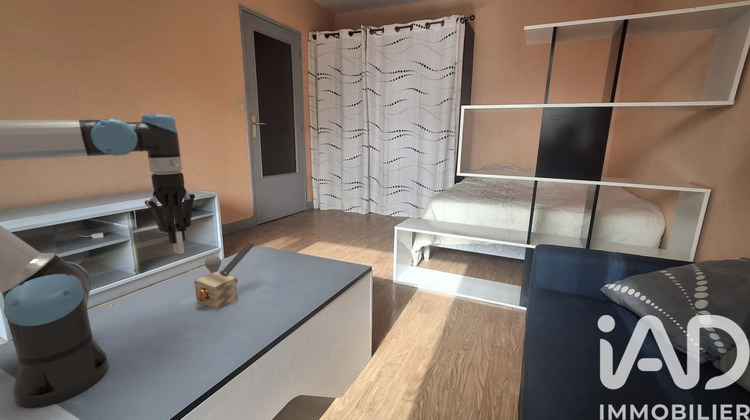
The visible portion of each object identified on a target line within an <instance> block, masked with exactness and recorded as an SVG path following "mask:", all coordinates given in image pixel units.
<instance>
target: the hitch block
mask: <svg viewBox="0 0 750 420" xmlns="http://www.w3.org/2000/svg"><path fill="white" fill-rule="evenodd" d="M235 277H236V276H232V275H230V274H229V275H228V276H225V275H222V274H220V272H219V271H218V272H214V273H212V274H211V273H209V274H207V275H204V276H203V277H202V276H201V277H199V278H197V279H194V281H193V282H194V290H195V292H196V291H197V290H199V289H201V288H203V289H204V290H205V289H208V292H209V296H208V297H207V300H205V301H203V302H201V301H199V300H198V298H197V296H196V295H195V297H196V298H195V299H196V304H200V305H202V306H205V307H208V308H210V309H212V310H216V311H218V310H220V309H222V308H224V307H227V306H228V305H230V304H232V303H234V302H235V301H238V289H237V288H238V287H237V283H236V278H237V277H236V278H235Z"/></svg>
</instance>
